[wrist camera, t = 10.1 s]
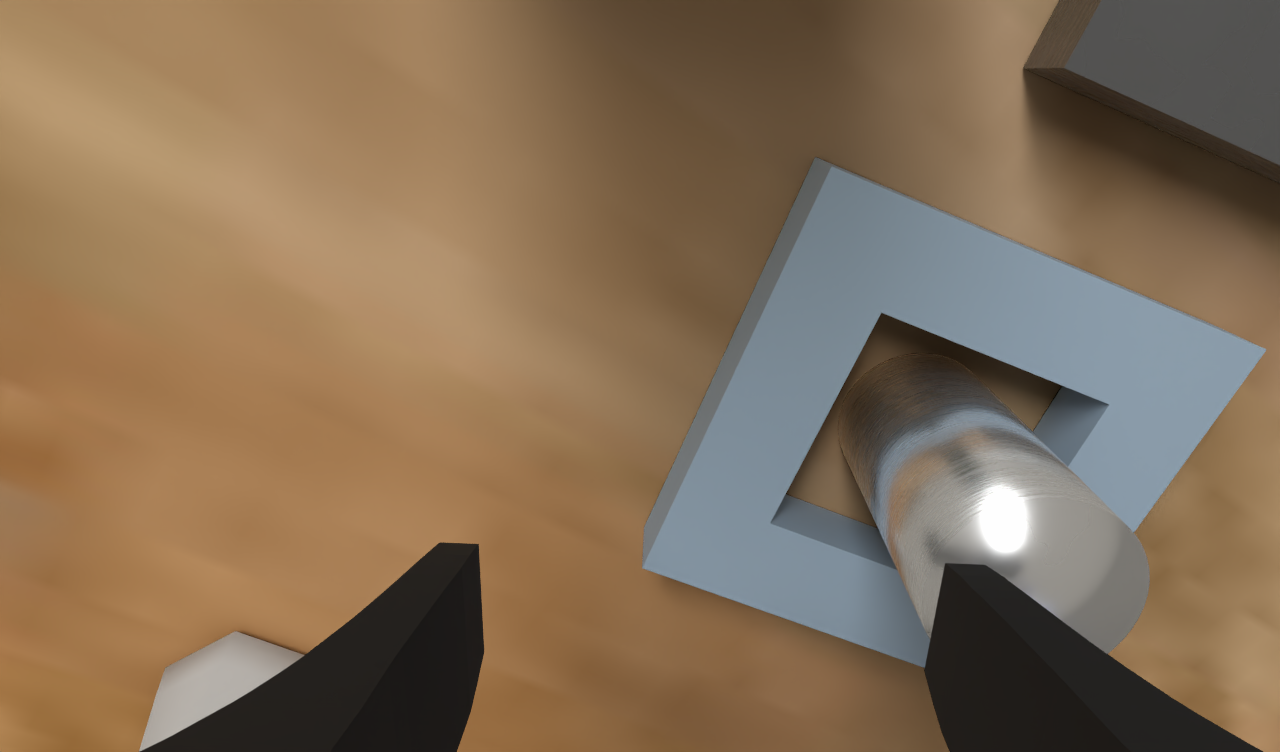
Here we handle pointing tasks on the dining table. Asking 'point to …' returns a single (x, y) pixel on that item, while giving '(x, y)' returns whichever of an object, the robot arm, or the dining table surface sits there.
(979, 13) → the dining table surface
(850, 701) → the dining table surface
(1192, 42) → the socket block
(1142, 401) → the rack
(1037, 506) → the steel peg
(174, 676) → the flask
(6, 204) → the dining table surface
